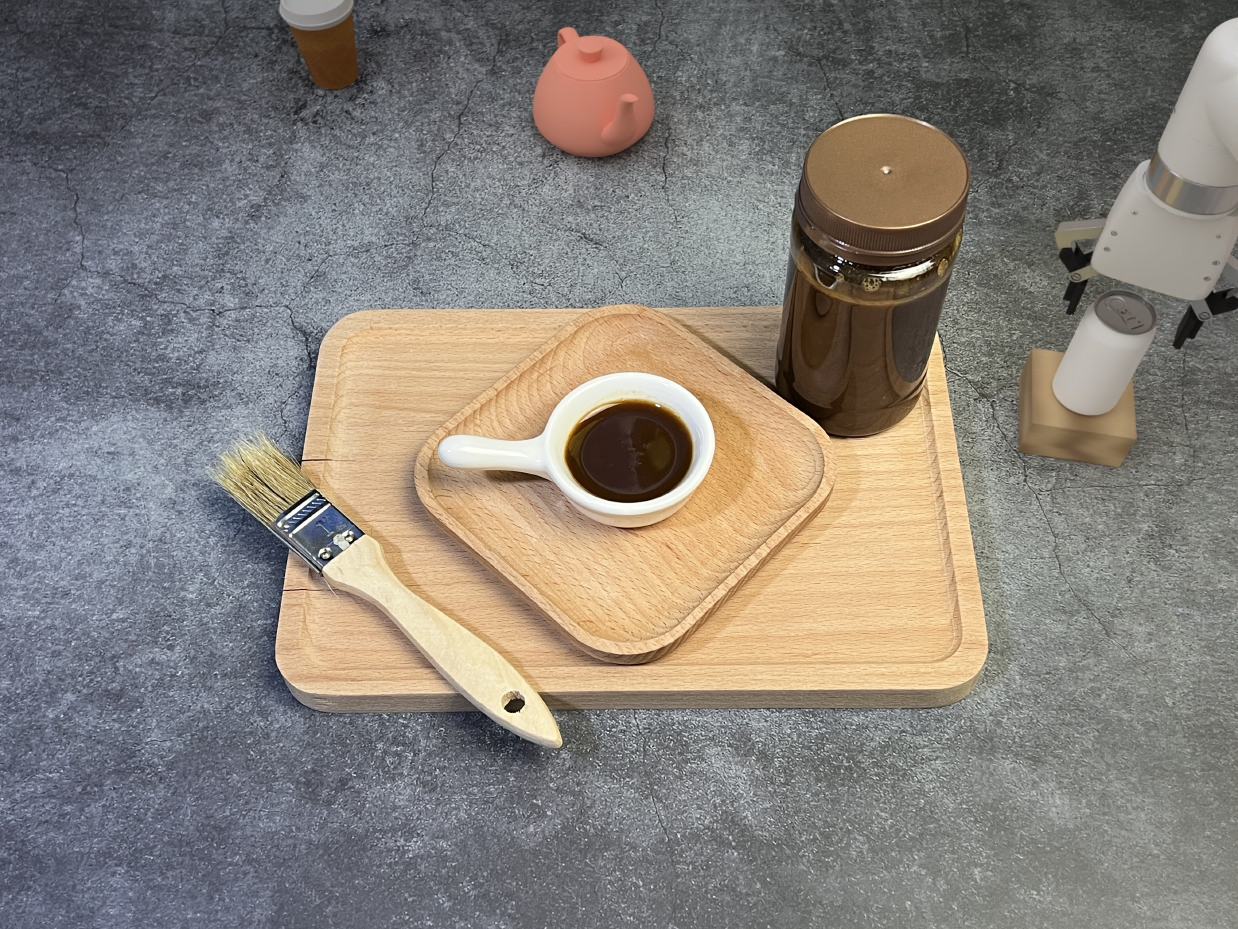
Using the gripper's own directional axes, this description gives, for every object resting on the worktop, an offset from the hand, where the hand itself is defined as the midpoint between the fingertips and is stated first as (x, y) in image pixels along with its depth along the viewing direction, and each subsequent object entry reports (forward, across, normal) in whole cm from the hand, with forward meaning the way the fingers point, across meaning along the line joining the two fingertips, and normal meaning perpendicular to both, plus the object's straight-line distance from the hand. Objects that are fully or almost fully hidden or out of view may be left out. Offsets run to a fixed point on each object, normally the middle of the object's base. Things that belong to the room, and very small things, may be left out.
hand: (1124, 321), depth 102 cm
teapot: (+15, +67, -20) cm, 71 cm away
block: (+16, +1, 0) cm, 16 cm away
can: (+11, 0, 0) cm, 11 cm away
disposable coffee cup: (+14, +105, -15) cm, 107 cm away
